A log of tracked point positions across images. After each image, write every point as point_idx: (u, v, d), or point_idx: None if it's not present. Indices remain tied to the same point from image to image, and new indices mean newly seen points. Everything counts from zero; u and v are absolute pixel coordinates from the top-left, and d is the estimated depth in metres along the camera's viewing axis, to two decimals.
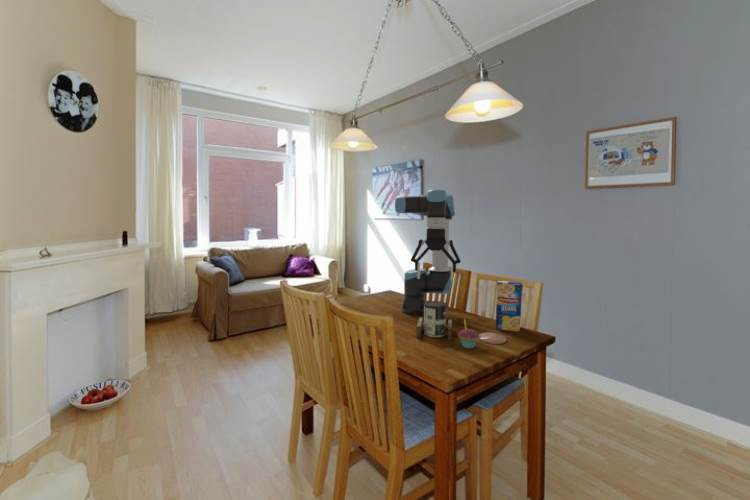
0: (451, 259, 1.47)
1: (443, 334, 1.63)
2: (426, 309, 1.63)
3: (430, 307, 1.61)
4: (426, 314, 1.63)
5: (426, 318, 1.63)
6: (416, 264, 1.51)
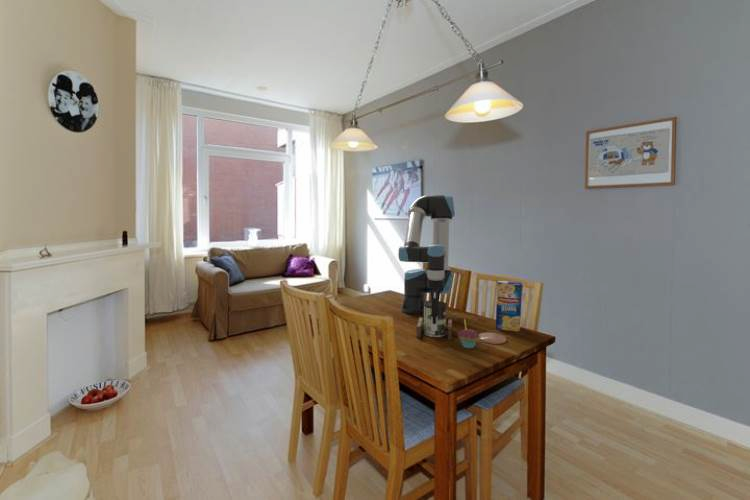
0: None
1: (443, 334, 1.63)
2: (426, 309, 1.63)
3: (430, 307, 1.61)
4: (426, 314, 1.63)
5: (426, 318, 1.63)
6: None
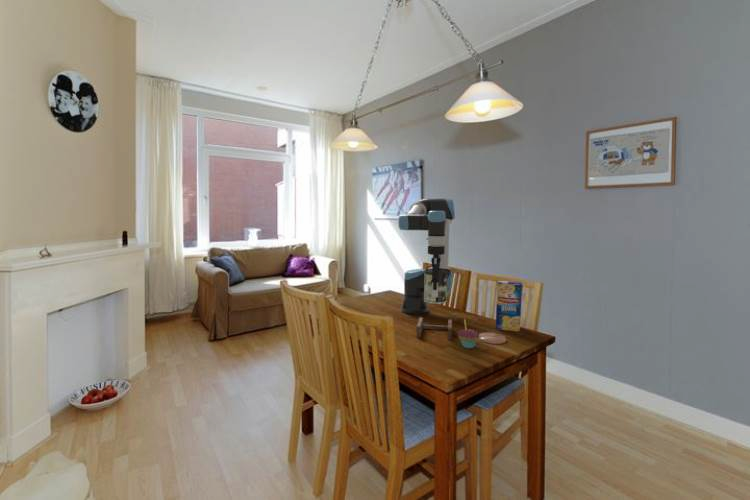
0: None
1: (444, 301, 1.61)
2: (427, 276, 1.61)
3: (431, 273, 1.59)
4: (427, 281, 1.61)
5: (427, 285, 1.61)
6: None
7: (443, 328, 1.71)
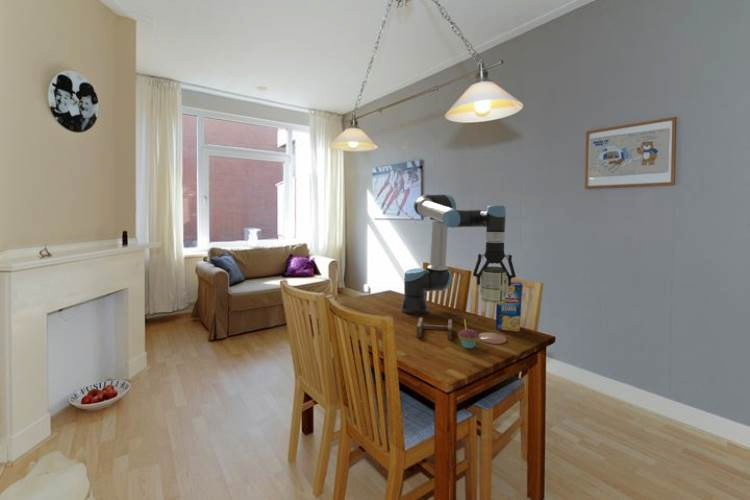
0: (507, 273, 1.54)
1: None
2: (503, 274, 1.52)
3: (506, 270, 1.53)
4: (503, 280, 1.52)
5: (503, 284, 1.52)
6: (478, 279, 1.57)
7: (443, 328, 1.71)
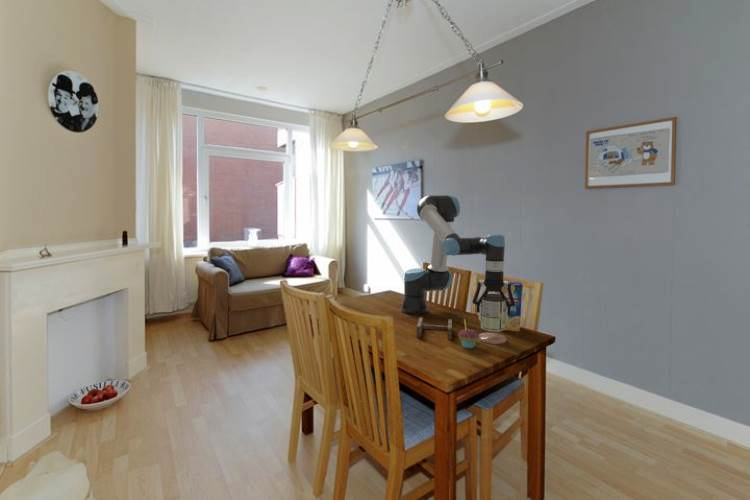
0: (506, 302, 1.55)
1: None
2: (502, 303, 1.53)
3: (505, 299, 1.54)
4: (502, 308, 1.53)
5: (502, 312, 1.53)
6: (478, 306, 1.58)
7: (443, 328, 1.71)
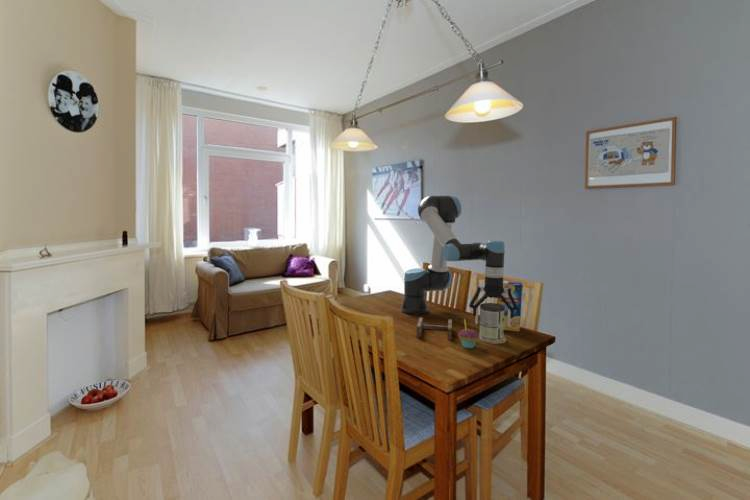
0: (509, 306, 1.55)
1: None
2: (501, 313, 1.54)
3: None
4: (501, 318, 1.54)
5: (501, 322, 1.54)
6: (474, 310, 1.59)
7: (443, 328, 1.71)
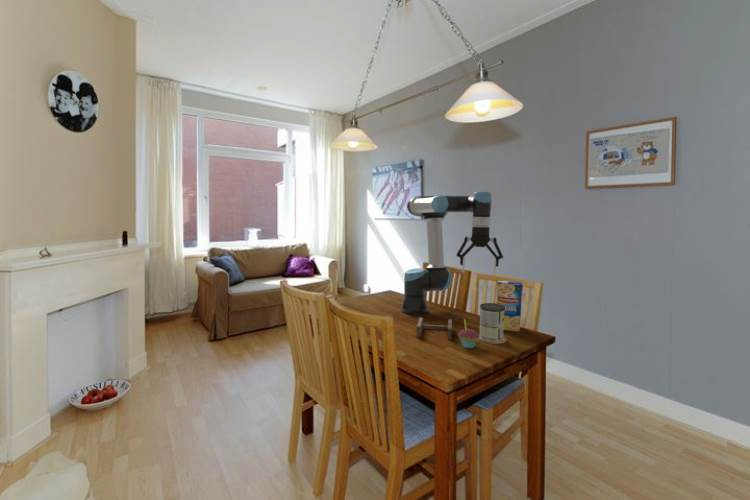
0: (494, 255, 1.61)
1: None
2: (501, 313, 1.54)
3: None
4: (501, 318, 1.54)
5: (501, 322, 1.54)
6: (461, 259, 1.65)
7: (443, 328, 1.71)
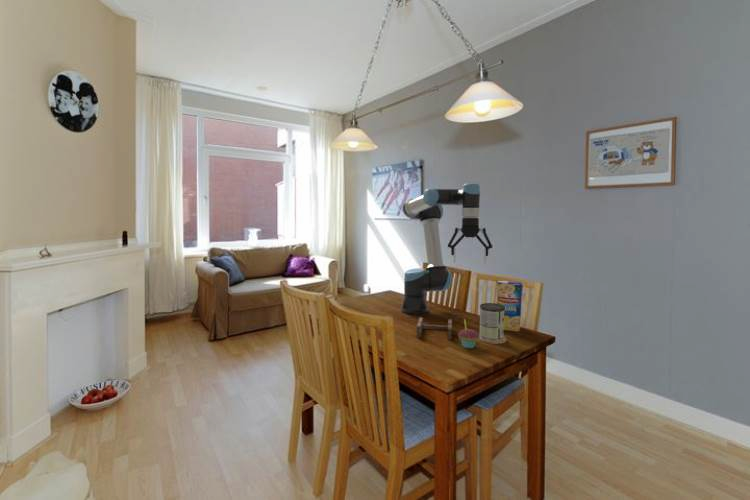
0: (484, 245, 1.67)
1: None
2: (501, 313, 1.54)
3: None
4: (501, 318, 1.54)
5: (501, 322, 1.54)
6: (452, 249, 1.71)
7: (443, 328, 1.71)
